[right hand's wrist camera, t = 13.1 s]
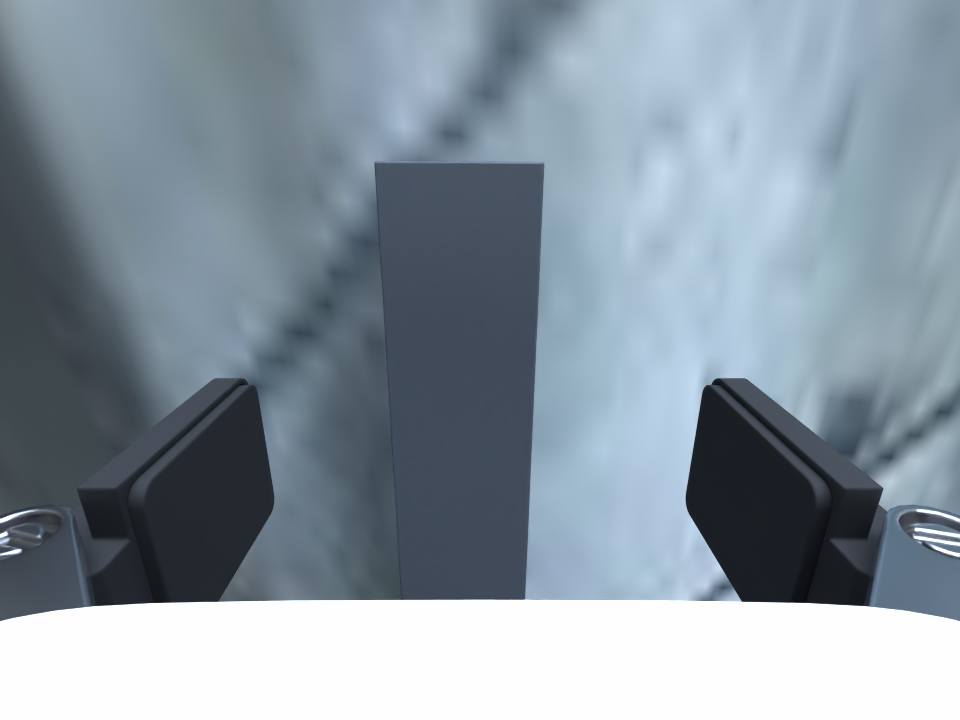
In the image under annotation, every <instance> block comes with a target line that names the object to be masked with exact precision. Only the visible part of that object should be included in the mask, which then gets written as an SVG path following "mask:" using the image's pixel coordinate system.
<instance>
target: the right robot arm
mask: <svg viewBox="0 0 960 720" xmlns="http://www.w3.org/2000/svg"><path fill="white" fill-rule="evenodd" d="M77 491H78V494H79V498H80V501H81V505H80V506H79V507H78V508H77V509H76V510H74V511H73V512H72V511H71V510H70V509H69V508H66V507H63V506H59V505H42V506H34V507H28V508H24V509H20V510H16V511H12V512H9V513H6V514H4V515H1V516H0V720H960V516H959V515H956V514H954V513H951V512H948V511H944V510H940V509H936V508H932V507H926V506H918V505H901V506H897V507H894V508H891V509H890V510H889V511H888V512H887V511H886V510H884V509H883V508H882V507H881V506H880V505H879V501H880V498H881V494H882V491H883V488H882V487H881V486H880V485H879V484H877V483H876V482H875V481H874V480H872V479H871V478H870V477H869V476H867V475H866V474H865V473H864V472H862V471H861V470H860V469H859V468H857V467H856V466H855V465H854V464H852V463H851V462H850V461H849V460H847V459H846V458H845V457H844V456H842V455H841V454H840V453H839V452H837V451H836V450H835V449H834V448H832V447H831V446H830V445H829V444H827V443H826V442H825V441H824V440H822V439H821V438H820V437H819V436H817V435H816V434H815V433H814V432H812V431H811V430H810V429H809V428H807V427H806V426H805V425H803V424H802V423H801V422H800V421H798V420H797V419H796V418H795V417H793V416H792V415H791V414H790V413H788V412H787V411H786V410H785V409H783V408H782V407H781V406H780V405H778V404H777V403H776V402H775V401H773V400H772V399H771V398H770V397H768V396H767V395H766V394H765V393H763V392H762V391H761V390H760V389H758V388H757V387H756V386H755V385H753V384H752V383H751V382H750V381H748V380H747V379H745V378H718V379H715V380H714V381H713V383H712V385H707V386H706V387H705V388H704V390H703V393H702V399H701V405H700V411H699V417H698V423H697V430H696V436H695V442H694V448H693V454H692V460H691V466H690V473H689V479H688V485H687V491H686V506H687V510H688V512H689V514H690V516H691V518H692V519H693V521H694V523H695V524H696V526H697V528H698V529H699V531H700V533H701V534H702V536H703V538H704V539H705V541H706V543H707V544H708V546H709V548H710V549H711V551H712V553H713V554H714V556H715V558H716V559H717V561H718V563H719V564H720V566H721V568H722V569H723V571H724V573H725V574H726V576H727V578H728V579H729V581H730V583H731V584H732V586H733V588H734V589H735V591H736V593H737V594H738V596H739V597H740V599H741V601H742V602H707V601H614V600H346V601H253V602H218V601H219V599H220V597H221V596H222V594H223V593H224V591H225V589H226V588H227V586H228V584H229V583H230V581H231V579H232V578H233V576H234V574H235V573H236V571H237V569H238V568H239V566H240V564H241V563H242V561H243V559H244V558H245V556H246V554H247V553H248V551H249V549H250V548H251V546H252V544H253V543H254V541H255V539H256V538H257V536H258V534H259V533H260V531H261V529H262V528H263V526H264V524H265V523H266V521H267V519H268V518H269V516H270V514H271V512H272V510H273V506H274V491H273V485H272V479H271V473H270V466H269V460H268V454H267V448H266V442H265V436H264V429H263V423H262V417H261V411H260V405H259V399H258V393H257V390H256V388H255V387H254V386H253V385H248V383H247V381H246V380H245V379H242V378H215V379H213V380H212V381H210V382H209V383H208V384H207V385H205V386H204V387H203V388H202V389H200V390H199V391H198V392H197V393H195V394H194V395H193V396H192V397H190V398H189V399H188V400H187V401H185V402H184V403H183V404H182V405H180V406H179V407H178V408H177V409H175V410H174V411H173V412H172V413H170V414H169V415H168V416H167V417H165V418H164V419H163V420H162V421H160V422H159V423H158V424H157V425H155V426H154V427H153V428H151V429H150V430H149V431H148V432H146V433H145V434H144V435H143V436H141V437H140V438H139V439H138V440H136V441H135V442H134V443H133V444H131V445H130V446H129V447H128V448H126V449H125V450H124V451H123V452H121V453H120V454H119V455H118V456H116V457H115V458H114V459H113V460H111V461H110V462H109V463H108V464H106V465H105V466H104V467H103V468H101V469H100V470H99V471H98V472H96V473H95V474H94V475H93V476H91V477H90V478H89V479H88V480H86V481H85V482H84V483H83V484H81V485H80V486H79V487H78V488H77Z"/></svg>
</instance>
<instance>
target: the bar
mask: <svg viewBox="0 0 960 720" xmlns="http://www.w3.org/2000/svg"><path fill="white" fill-rule="evenodd" d="M375 179H376V195H377V211H378V228H379V244H380V260H381V276H382V292H383V308H384V325H385V341H386V357H387V373H388V389H389V405H390V421H391V438H392V454H393V470H394V486H395V502H396V518H397V535H398V551H399V567H400V583H401V599H402V600H525V587H526V564H527V542H528V519H529V497H530V474H531V452H532V429H533V406H534V384H535V361H536V339H537V316H538V294H539V271H540V248H541V226H542V203H543V181H544V163H543V162H412V161H376V162H375Z"/></svg>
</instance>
